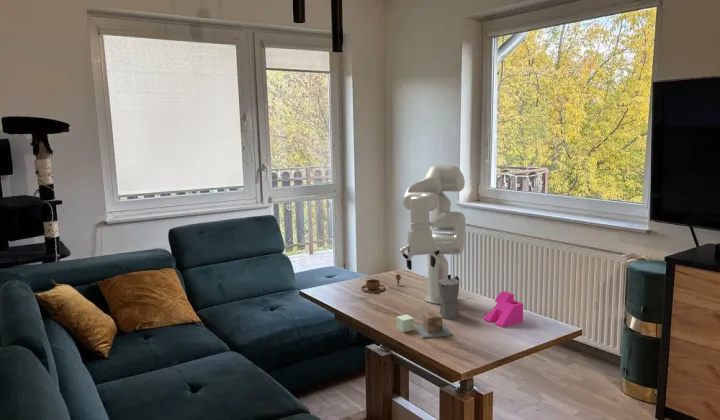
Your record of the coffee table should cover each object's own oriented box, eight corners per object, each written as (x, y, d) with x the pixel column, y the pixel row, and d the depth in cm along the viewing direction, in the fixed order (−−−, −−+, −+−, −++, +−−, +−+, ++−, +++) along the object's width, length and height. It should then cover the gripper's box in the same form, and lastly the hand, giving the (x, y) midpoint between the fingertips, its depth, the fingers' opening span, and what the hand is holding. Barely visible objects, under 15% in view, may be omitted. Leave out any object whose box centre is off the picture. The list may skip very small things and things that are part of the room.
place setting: (362, 285, 273) (362, 274, 272) (401, 285, 272) (400, 274, 271) (360, 296, 256) (359, 284, 255) (400, 295, 254) (400, 284, 253)
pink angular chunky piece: (504, 314, 223) (504, 291, 222) (523, 321, 215) (523, 297, 213) (483, 320, 217) (483, 296, 216) (501, 327, 209) (501, 303, 207)
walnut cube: (437, 325, 211) (437, 311, 210) (442, 331, 205) (442, 316, 204) (423, 327, 210) (423, 312, 209) (427, 332, 204) (427, 318, 203)
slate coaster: (442, 324, 214) (442, 322, 214) (452, 335, 202) (452, 333, 202) (414, 327, 212) (414, 325, 212) (422, 338, 200) (422, 336, 200)
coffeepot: (452, 322, 216) (452, 280, 213) (432, 318, 222) (431, 277, 219) (468, 311, 228) (468, 271, 226) (448, 307, 234) (448, 268, 231)
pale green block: (407, 326, 214) (407, 314, 213) (413, 330, 209) (413, 318, 209) (396, 328, 212) (396, 316, 211) (402, 332, 207) (402, 320, 206)
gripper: (437, 222, 213) (438, 263, 217) (396, 226, 210) (398, 267, 213) (444, 226, 206) (444, 268, 209) (401, 230, 203) (403, 272, 206)
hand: (421, 267), depth 211 cm, fingers open, 9 cm apart
